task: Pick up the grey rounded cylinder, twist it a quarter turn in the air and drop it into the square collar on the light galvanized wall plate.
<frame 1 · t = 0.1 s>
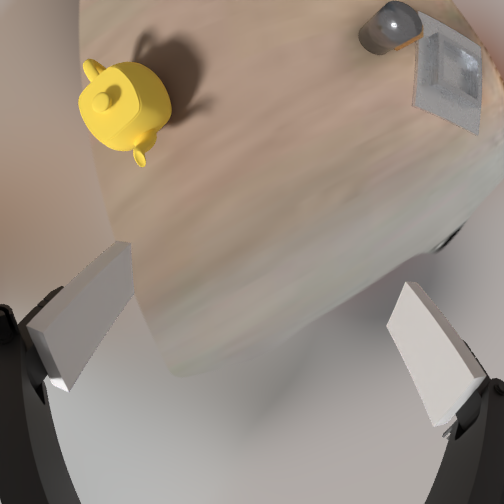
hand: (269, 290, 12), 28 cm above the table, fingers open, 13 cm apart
teapot: (141, 110, 34), on the table
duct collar: (449, 72, 28), on the table
grey rounded cylinder: (374, 39, 28), on the table
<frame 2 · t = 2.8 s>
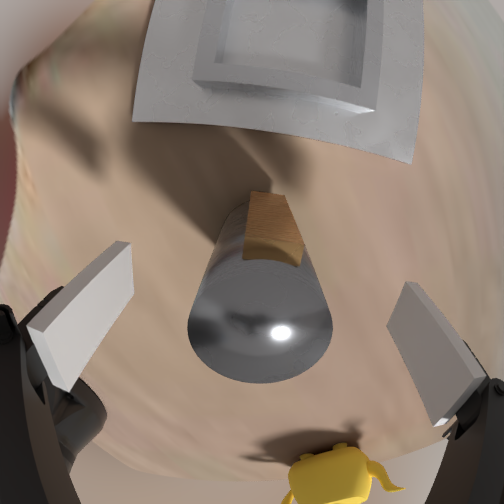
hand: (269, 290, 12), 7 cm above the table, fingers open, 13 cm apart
teapot: (332, 453, 32), on the table
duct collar: (290, 33, 13), on the table
grey rounded cylinder: (260, 238, 19), on the table
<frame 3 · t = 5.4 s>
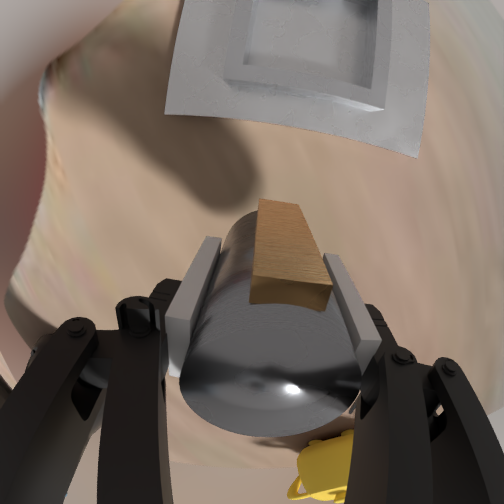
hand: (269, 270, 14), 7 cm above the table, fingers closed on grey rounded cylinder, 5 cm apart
teapot: (340, 441, 34), on the table
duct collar: (308, 38, 15), on the table
grey rounded cylinder: (268, 252, 16), point 5 cm above the table, touching gripper
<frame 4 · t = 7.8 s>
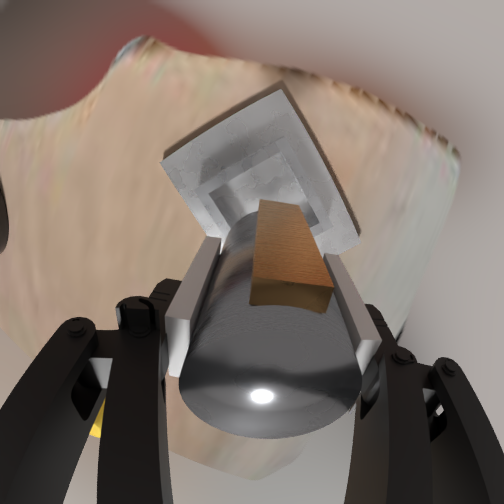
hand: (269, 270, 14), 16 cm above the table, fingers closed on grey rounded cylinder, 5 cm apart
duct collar: (264, 199, 28), on the table
grey rounded cylinder: (268, 253, 16), point 13 cm above the table, touching gripper
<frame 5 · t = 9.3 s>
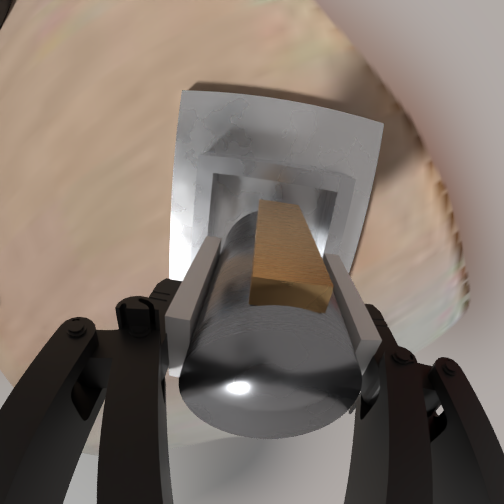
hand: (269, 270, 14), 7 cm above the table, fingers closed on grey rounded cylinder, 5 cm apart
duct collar: (266, 222, 21), on the table
grey rounded cylinder: (268, 253, 16), point 5 cm above the table, touching gripper
when the fingers open (5 cm above the table, at t = 10.4 s): grey rounded cylinder drops 1 cm, resting on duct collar.
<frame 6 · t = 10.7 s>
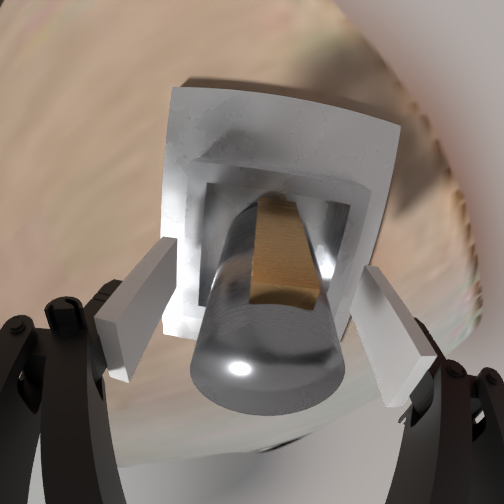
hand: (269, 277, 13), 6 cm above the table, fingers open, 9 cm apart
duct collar: (268, 237, 18), on the table
grey rounded cylinder: (268, 244, 17), point 1 cm above the table, touching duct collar
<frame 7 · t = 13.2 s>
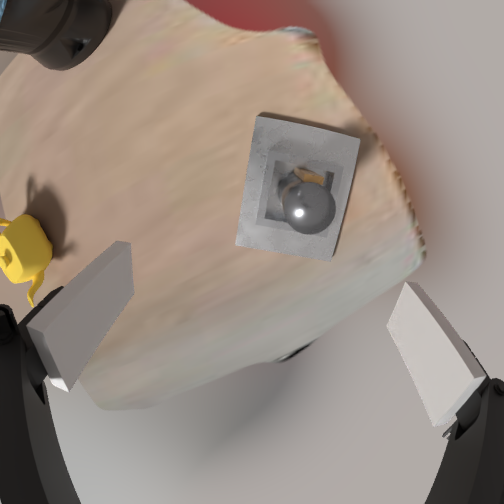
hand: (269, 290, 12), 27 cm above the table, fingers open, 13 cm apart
teapot: (39, 243, 43), on the table
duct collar: (296, 190, 37), on the table
grey rounded cylinder: (297, 192, 36), point 1 cm above the table, touching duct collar
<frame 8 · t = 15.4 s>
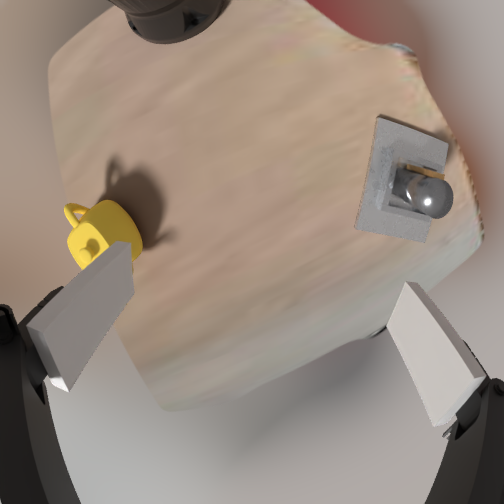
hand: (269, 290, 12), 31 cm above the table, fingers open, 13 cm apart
teapot: (119, 233, 45), on the table
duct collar: (403, 182, 39), on the table
grey rounded cylinder: (406, 184, 38), point 1 cm above the table, touching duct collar
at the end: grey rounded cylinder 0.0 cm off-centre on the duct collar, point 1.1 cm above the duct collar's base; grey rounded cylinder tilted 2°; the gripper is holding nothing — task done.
